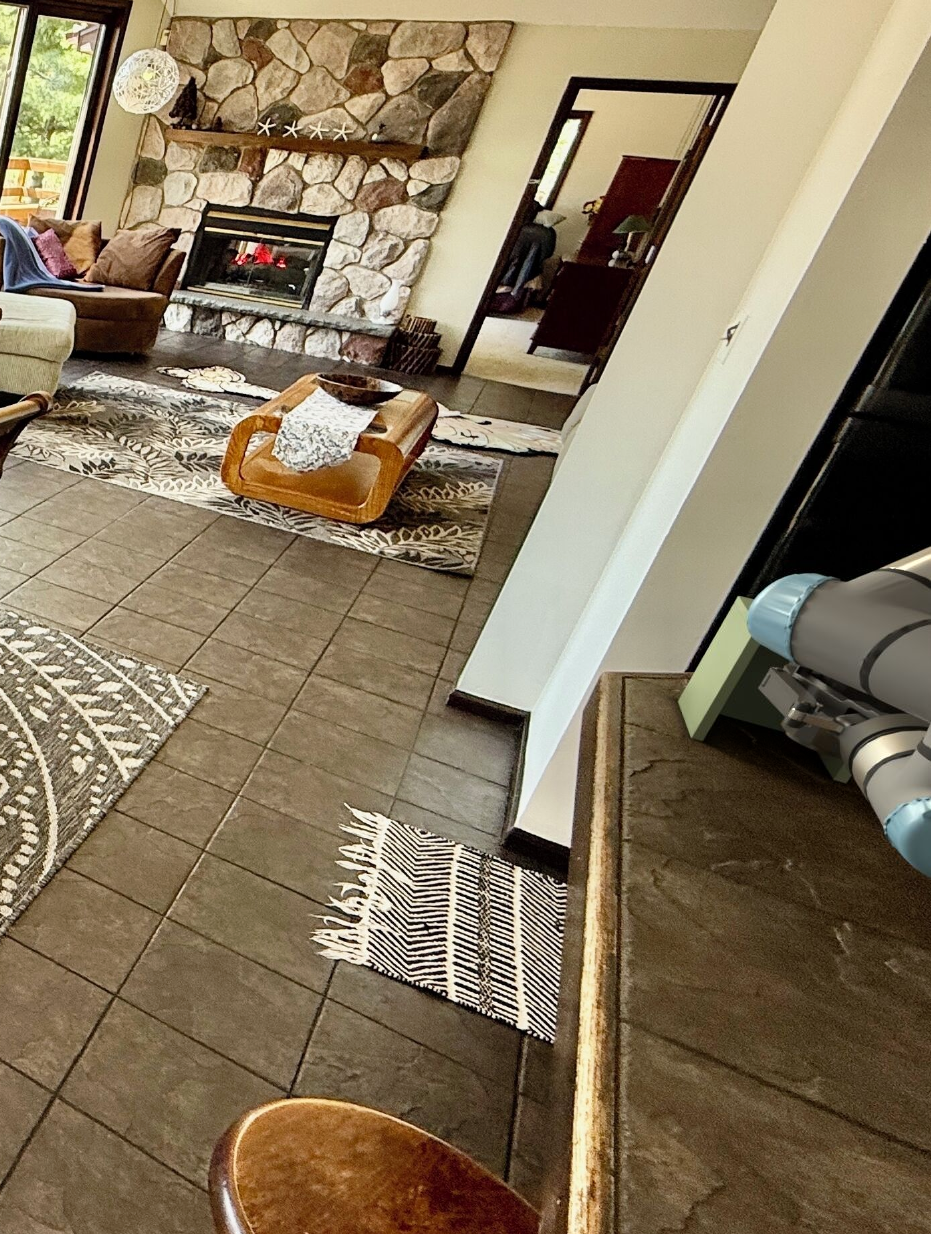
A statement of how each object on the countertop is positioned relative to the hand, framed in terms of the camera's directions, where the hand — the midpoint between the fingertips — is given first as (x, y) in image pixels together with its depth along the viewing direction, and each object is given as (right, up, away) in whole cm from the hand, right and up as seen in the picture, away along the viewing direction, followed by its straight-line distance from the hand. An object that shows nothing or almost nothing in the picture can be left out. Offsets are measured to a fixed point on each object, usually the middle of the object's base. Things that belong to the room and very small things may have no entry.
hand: (849, 677), depth 102 cm
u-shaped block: (+7, -9, +15) cm, 19 cm away
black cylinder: (-3, -7, -1) cm, 8 cm away
